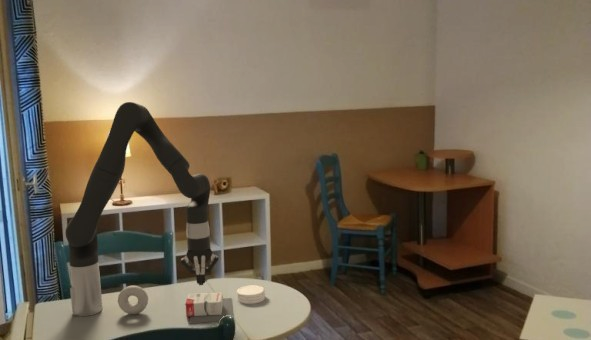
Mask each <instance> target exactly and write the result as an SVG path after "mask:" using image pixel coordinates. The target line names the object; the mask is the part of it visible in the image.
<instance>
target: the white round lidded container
mask: <svg viewBox="0 0 591 340" xmlns="http://www.w3.org/2000/svg"><path fill="white" fill-rule="evenodd" d="M265 292H266V290H265V288H264V287H262V286H261V285H253V284H252V285H244V286H241V287H239V288H238V289H237V290H236V299H237V301H238V302H239V303H241V304H245V305H248V304H249V305H253V304H255V305H256V304H260V303H261V302H263V301H264V300H265V299H266V293H265Z"/></svg>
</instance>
